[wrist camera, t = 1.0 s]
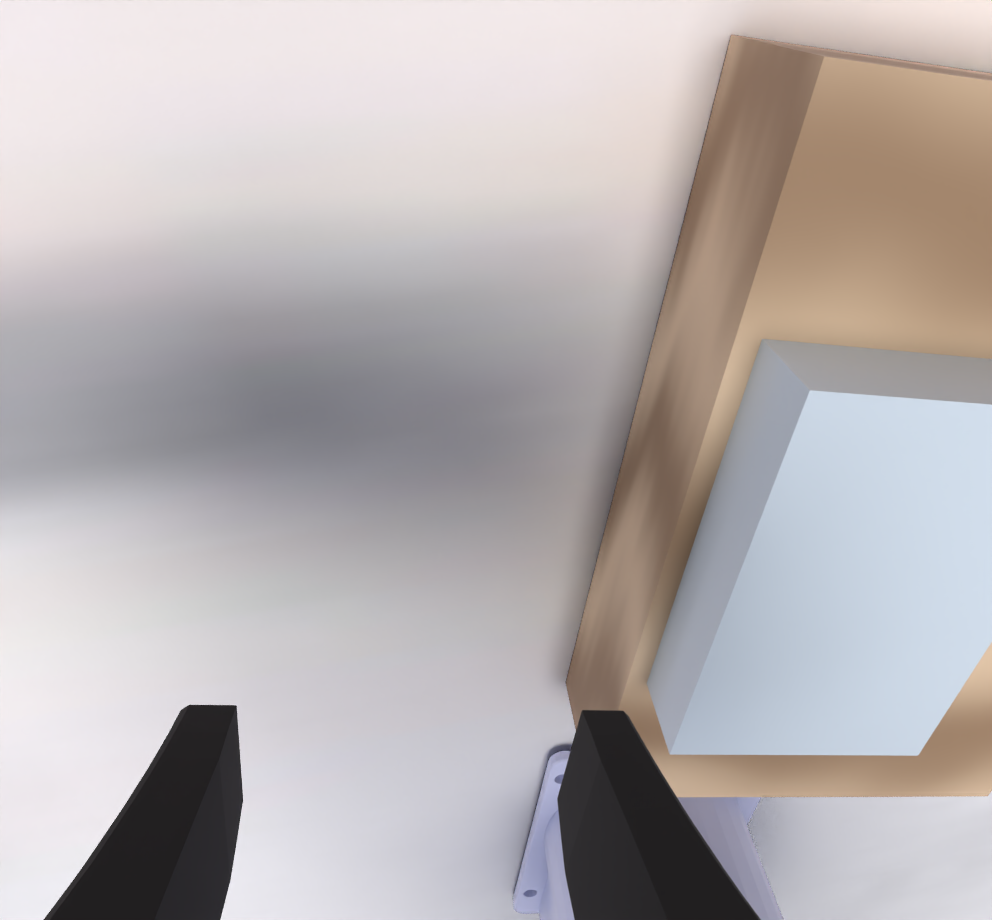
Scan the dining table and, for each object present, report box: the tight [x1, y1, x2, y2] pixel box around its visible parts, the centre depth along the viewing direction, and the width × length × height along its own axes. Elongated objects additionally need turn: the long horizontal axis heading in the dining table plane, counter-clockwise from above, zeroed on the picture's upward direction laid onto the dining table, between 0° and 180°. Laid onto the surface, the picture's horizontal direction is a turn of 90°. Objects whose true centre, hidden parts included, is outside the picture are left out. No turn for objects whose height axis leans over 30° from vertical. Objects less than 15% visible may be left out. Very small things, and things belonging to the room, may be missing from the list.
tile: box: [647, 339, 992, 756], centre depth 16 cm, size 9×6×2 cm, turn 173°
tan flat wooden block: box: [566, 35, 992, 797], centre depth 19 cm, size 18×12×4 cm, turn 173°
